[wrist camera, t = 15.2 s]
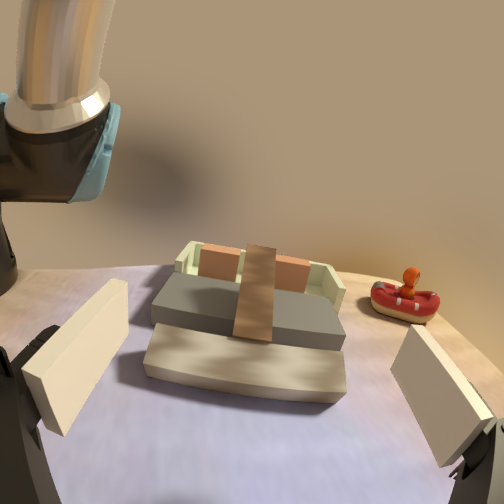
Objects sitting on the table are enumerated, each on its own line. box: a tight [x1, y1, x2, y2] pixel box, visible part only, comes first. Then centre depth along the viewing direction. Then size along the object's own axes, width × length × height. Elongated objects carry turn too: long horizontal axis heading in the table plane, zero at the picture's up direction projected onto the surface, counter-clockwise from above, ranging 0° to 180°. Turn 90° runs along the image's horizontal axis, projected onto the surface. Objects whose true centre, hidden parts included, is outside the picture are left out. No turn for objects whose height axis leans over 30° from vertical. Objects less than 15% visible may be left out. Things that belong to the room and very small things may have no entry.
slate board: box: [151, 271, 346, 351], centre depth 33 cm, size 20×9×2 cm, turn 88°
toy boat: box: [371, 267, 440, 323], centre depth 41 cm, size 8×12×8 cm, turn 68°
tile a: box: [198, 243, 241, 282], centre depth 39 cm, size 5×5×2 cm
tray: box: [174, 241, 346, 316], centre depth 41 cm, size 22×9×4 cm, turn 88°
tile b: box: [274, 255, 311, 293], centre depth 40 cm, size 5×5×2 cm
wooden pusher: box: [143, 244, 347, 403], centre depth 27 cm, size 16×3×16 cm
